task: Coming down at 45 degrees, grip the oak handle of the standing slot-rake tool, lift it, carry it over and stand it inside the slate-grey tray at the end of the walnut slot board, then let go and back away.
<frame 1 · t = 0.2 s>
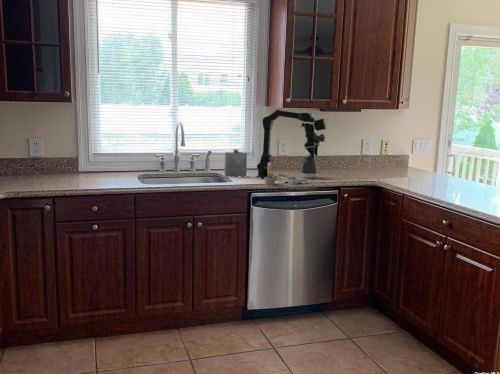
hand: (315, 156, 317), 15 cm above the worktop, tool pointing down, fingers open, 9 cm apart
flask: (235, 176, 332), on the worktop
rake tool: (269, 184, 305), on the worktop
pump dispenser: (308, 178, 331), on the worktop
slot board: (281, 179, 322), on the worktop
tray: (293, 182, 313), on the worktop
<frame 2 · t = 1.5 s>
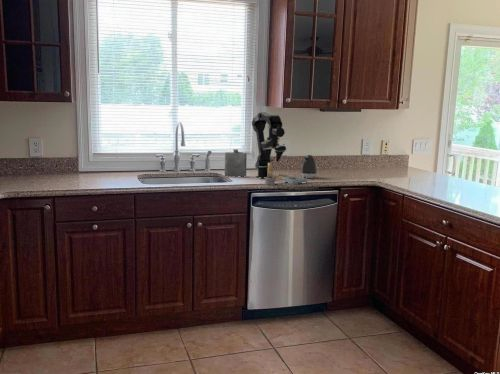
hand: (272, 161, 312), 13 cm above the worktop, tool pointing down, fingers open, 9 cm apart
nothing on the worktop moved.
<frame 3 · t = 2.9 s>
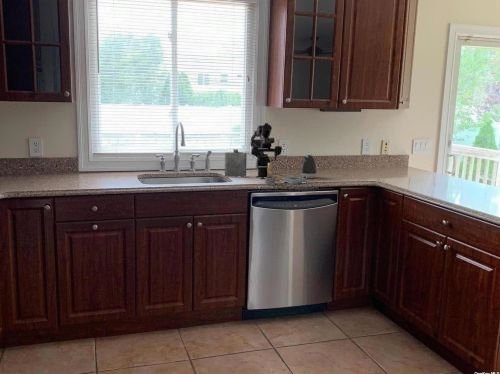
hand: (267, 161, 310), 13 cm above the worktop, tool tilted 45°, fingers open, 9 cm apart
nothing on the worktop moved.
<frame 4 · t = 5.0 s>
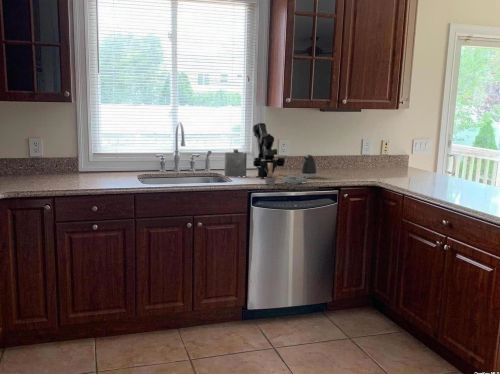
hand: (270, 173, 302), 7 cm above the worktop, tool tilted 45°, fingers closed on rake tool, 3 cm apart
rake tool: (269, 184, 305), on the worktop, touching gripper
everything else where it was.
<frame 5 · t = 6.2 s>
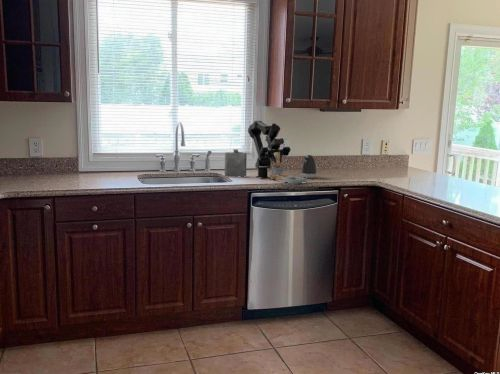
hand: (278, 162, 303), 13 cm above the worktop, tool tilted 45°, fingers closed on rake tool, 3 cm apart
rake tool: (277, 173, 305), point 6 cm above the worktop, touching gripper
everything else where it was.
when the fingers open (9 cm above the worktop, at t = 7.9 s): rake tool drops 1 cm, resting on tray.
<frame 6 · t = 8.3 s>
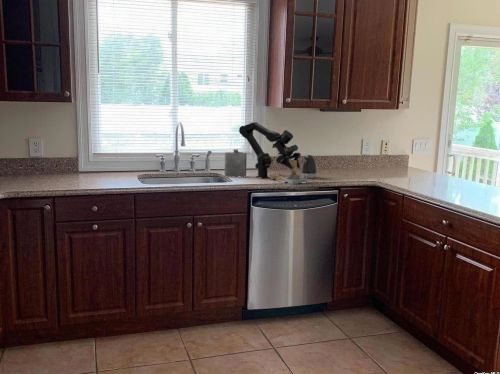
hand: (296, 168, 310), 9 cm above the worktop, tool tilted 45°, fingers open, 7 cm apart
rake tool: (293, 181, 313), point 1 cm above the worktop, touching tray
everything else where it was.
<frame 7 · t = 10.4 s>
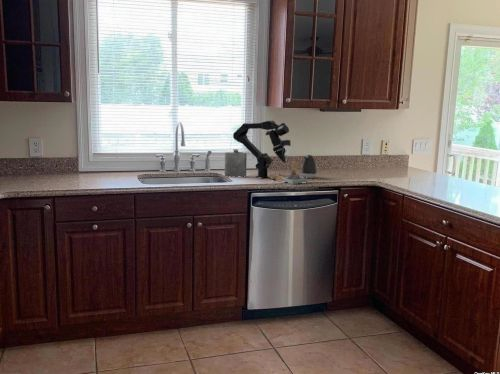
hand: (284, 161, 318), 12 cm above the worktop, tool tilted 25°, fingers open, 9 cm apart
nothing on the worktop moved.
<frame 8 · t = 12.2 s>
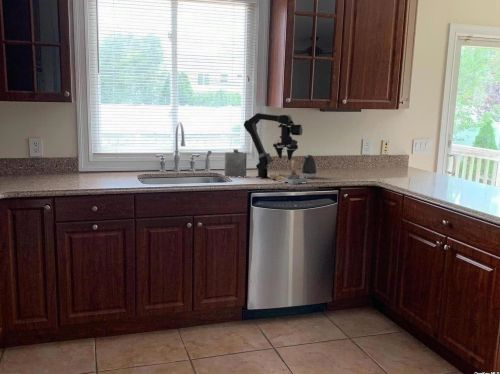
hand: (284, 159, 321), 13 cm above the worktop, tool pointing down, fingers open, 9 cm apart
nothing on the worktop moved.
at the end: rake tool inside the target area on the tray (0.1 cm from its centre), point 0.8 cm above the tray's base; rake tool tilted 0°; the gripper is holding nothing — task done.
